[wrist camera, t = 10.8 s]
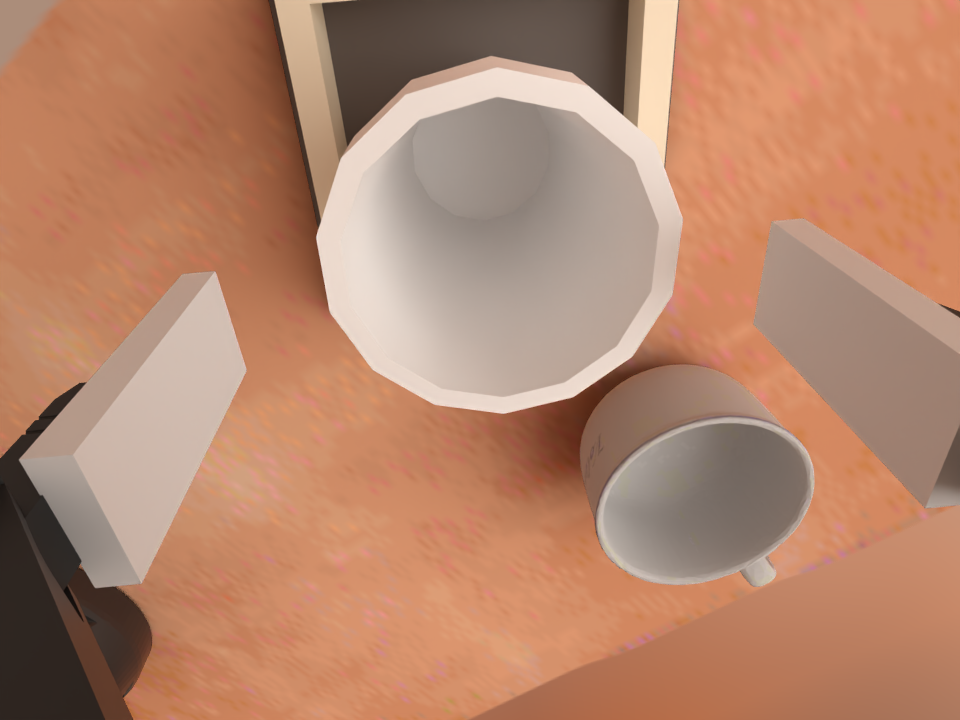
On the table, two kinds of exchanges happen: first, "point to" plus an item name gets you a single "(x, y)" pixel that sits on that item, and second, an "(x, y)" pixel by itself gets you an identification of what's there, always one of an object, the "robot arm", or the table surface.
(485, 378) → the foam cup
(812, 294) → the robot arm
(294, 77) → the tray
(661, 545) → the teacup
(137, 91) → the table surface
